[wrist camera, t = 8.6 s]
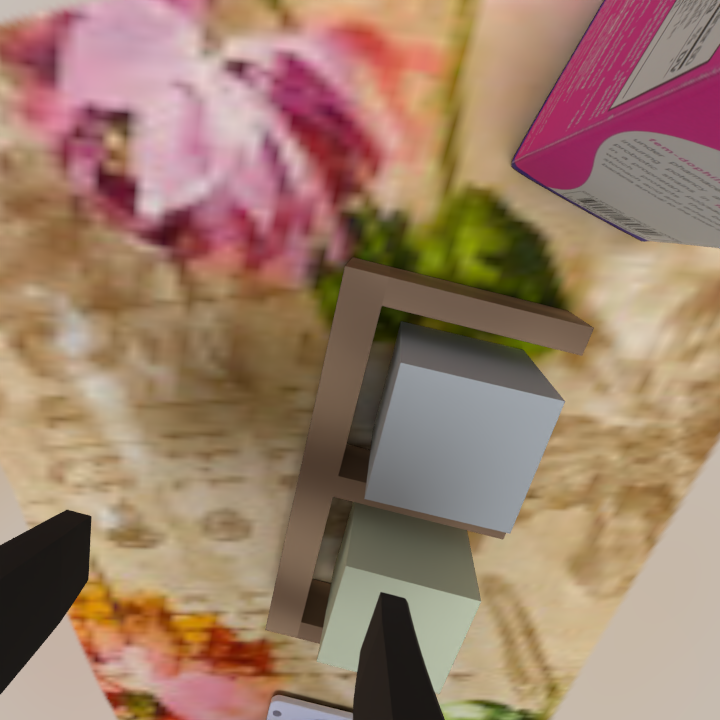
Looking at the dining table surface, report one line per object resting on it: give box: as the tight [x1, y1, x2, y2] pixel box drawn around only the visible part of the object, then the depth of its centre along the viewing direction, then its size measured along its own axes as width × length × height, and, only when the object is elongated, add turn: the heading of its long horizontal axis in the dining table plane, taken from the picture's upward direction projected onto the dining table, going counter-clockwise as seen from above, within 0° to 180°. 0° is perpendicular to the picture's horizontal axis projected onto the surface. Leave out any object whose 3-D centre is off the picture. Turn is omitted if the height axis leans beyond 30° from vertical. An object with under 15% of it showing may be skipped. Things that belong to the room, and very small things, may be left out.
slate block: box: [364, 321, 565, 533], centre depth 17 cm, size 5×5×5 cm
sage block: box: [317, 502, 481, 694], centre depth 19 cm, size 5×5×5 cm
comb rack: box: [265, 257, 594, 644], centre depth 19 cm, size 17×8×2 cm, turn 167°
